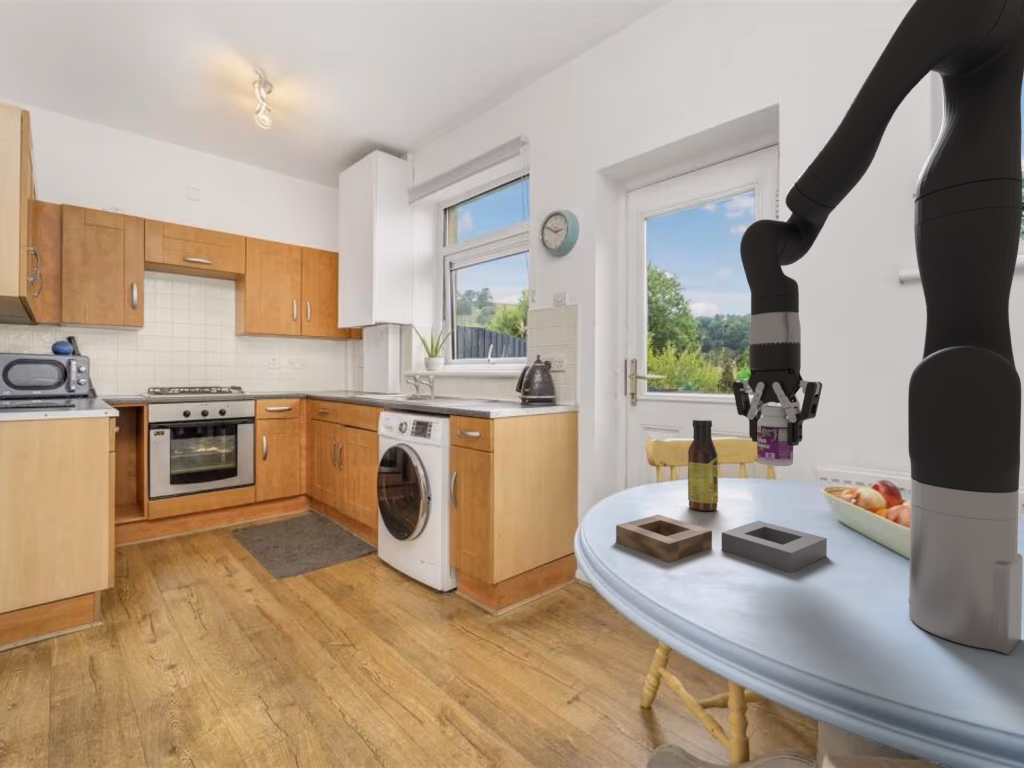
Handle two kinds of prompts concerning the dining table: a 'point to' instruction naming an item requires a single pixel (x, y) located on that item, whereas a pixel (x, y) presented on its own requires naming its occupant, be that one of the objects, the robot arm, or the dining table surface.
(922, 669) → the dining table surface
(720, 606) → the dining table surface
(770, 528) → the grey square frame
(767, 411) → the pill bottle
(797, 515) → the dining table surface
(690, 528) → the dock
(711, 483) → the sauce bottle
